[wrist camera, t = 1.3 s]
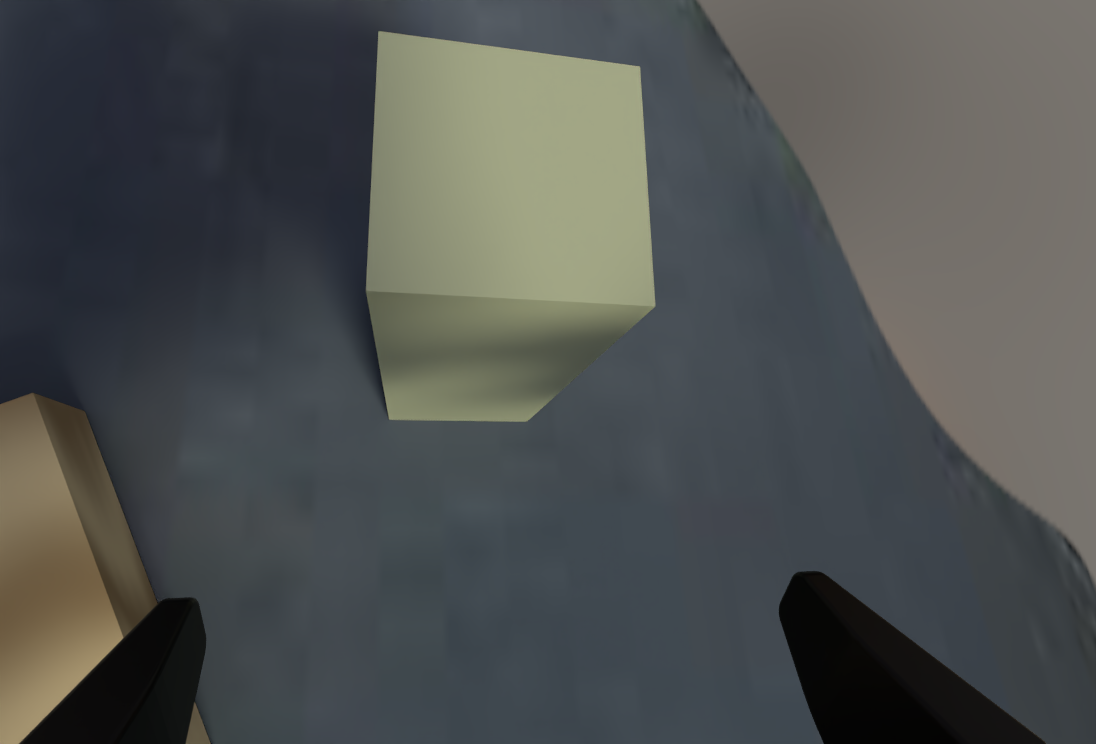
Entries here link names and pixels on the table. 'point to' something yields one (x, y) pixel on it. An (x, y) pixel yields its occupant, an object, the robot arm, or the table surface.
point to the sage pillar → (501, 224)
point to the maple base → (60, 563)
